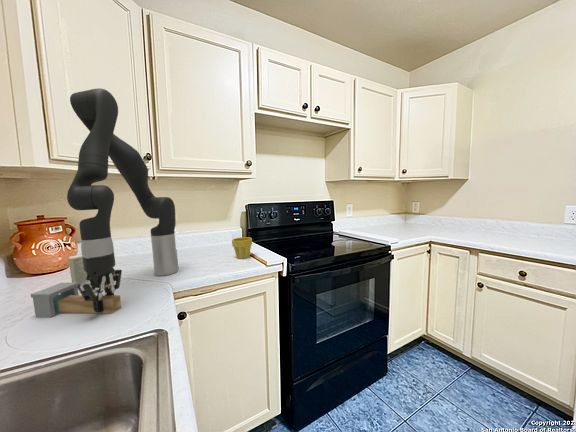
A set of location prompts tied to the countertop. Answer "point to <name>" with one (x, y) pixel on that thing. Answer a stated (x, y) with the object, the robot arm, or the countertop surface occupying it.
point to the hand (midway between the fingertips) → (105, 308)
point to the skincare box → (77, 269)
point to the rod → (88, 304)
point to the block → (55, 300)
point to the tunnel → (51, 298)
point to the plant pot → (242, 247)
